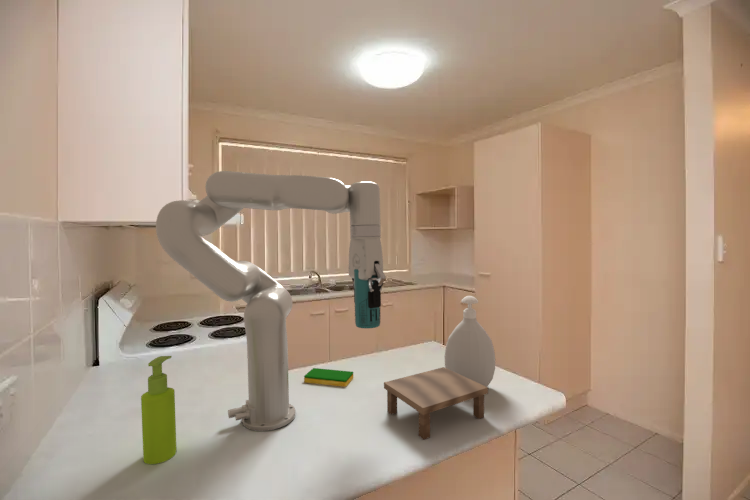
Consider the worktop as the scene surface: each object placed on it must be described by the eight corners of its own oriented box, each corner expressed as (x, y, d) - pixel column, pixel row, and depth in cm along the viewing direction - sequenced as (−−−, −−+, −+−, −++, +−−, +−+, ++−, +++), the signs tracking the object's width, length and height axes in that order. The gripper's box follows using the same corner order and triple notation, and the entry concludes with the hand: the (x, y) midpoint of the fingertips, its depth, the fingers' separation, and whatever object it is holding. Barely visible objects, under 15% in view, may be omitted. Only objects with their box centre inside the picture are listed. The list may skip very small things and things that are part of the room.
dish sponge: (313, 374, 118) (313, 367, 118) (353, 378, 114) (353, 371, 114) (303, 383, 111) (303, 375, 111) (346, 388, 107) (345, 380, 107)
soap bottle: (493, 381, 110) (494, 293, 109) (496, 393, 102) (497, 298, 101) (445, 378, 113) (445, 292, 112) (444, 388, 105) (444, 297, 104)
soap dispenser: (184, 443, 79) (181, 353, 78) (167, 464, 72) (163, 364, 71) (156, 444, 79) (153, 353, 78) (136, 464, 72) (133, 365, 71)
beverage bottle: (370, 336, 85) (368, 252, 85) (349, 332, 89) (347, 251, 89) (386, 330, 91) (384, 250, 90) (365, 326, 95) (363, 250, 94)
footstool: (423, 441, 79) (423, 408, 78) (384, 411, 92) (383, 382, 92) (487, 417, 89) (487, 387, 88) (443, 393, 103) (443, 367, 102)
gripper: (336, 233, 95) (338, 301, 95) (369, 232, 80) (371, 313, 80) (361, 233, 98) (363, 298, 99) (398, 232, 83) (399, 309, 84)
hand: (367, 304), depth 90 cm, fingers closed on beverage bottle, 6 cm apart
